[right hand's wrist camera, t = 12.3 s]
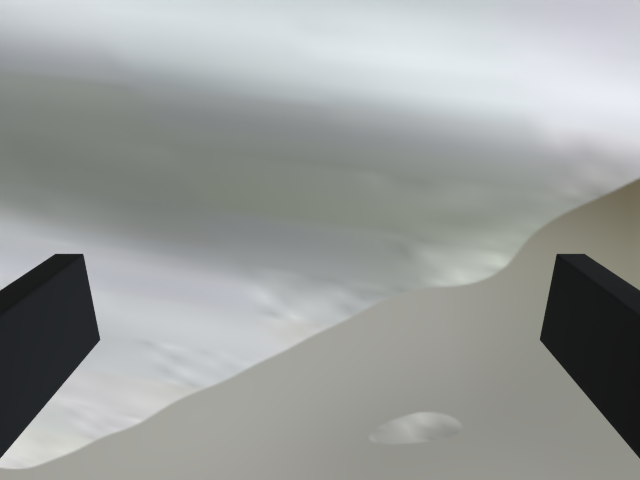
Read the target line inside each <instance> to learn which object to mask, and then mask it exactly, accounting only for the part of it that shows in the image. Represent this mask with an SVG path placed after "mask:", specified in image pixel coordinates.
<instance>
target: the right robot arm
mask: <svg viewBox="0 0 640 480" xmlns="http://www.w3.org/2000/svg"><path fill="white" fill-rule="evenodd" d="M540 340H541V342H542V343H543V344H544V345H545V346H546V348H547V349H548V350H549V351H550V352H551V353H552V355H553V356H554V357H555V358H556V359H557V361H558V362H559V363H560V364H561V365H562V367H563V368H564V369H565V370H566V371H567V373H568V374H569V375H570V376H571V377H572V379H573V380H574V381H575V382H576V383H577V384H578V386H579V387H580V388H581V389H582V390H583V392H584V393H585V394H586V395H587V396H588V398H589V399H590V400H591V401H592V402H593V403H594V405H595V406H596V407H597V408H598V409H599V411H600V412H601V413H602V414H603V415H604V417H605V418H606V419H607V420H608V421H609V422H610V424H611V425H612V426H613V427H614V428H615V430H616V431H617V432H618V433H619V434H620V435H621V437H622V438H623V439H624V440H625V441H626V443H627V444H628V445H629V446H630V447H631V449H632V450H633V451H634V452H635V453H636V455H637V456H638V457H639V458H640V290H638V289H637V288H635V287H634V286H632V285H630V284H629V283H627V282H626V281H624V280H623V279H621V278H620V277H618V276H617V275H615V274H614V273H612V272H611V271H609V270H608V269H606V268H605V267H603V266H602V265H600V264H599V263H597V262H596V261H594V260H593V259H591V258H590V257H588V256H587V255H585V254H557V256H556V261H555V266H554V271H553V276H552V281H551V286H550V291H549V296H548V301H547V306H546V311H545V316H544V321H543V326H542V331H541V336H540ZM99 341H100V336H99V331H98V326H97V321H96V316H95V311H94V306H93V301H92V296H91V291H90V286H89V281H88V276H87V271H86V266H85V261H84V256H83V254H55V255H53V256H52V257H50V258H49V259H47V260H46V261H44V262H43V263H41V264H40V265H38V266H37V267H35V268H34V269H32V270H31V271H29V272H28V273H26V274H25V275H23V276H22V277H20V278H19V279H17V280H16V281H14V282H13V283H11V284H10V285H8V286H6V287H5V288H3V289H2V290H0V458H1V457H2V456H3V455H4V453H5V452H6V451H7V450H8V449H9V447H10V446H11V445H12V444H13V443H14V441H15V440H16V439H17V438H18V437H19V436H20V434H21V433H22V432H23V431H24V430H25V428H26V427H27V426H28V425H29V424H30V422H31V421H32V420H33V419H34V418H35V417H36V415H37V414H38V413H39V412H40V411H41V409H42V408H43V407H44V406H45V405H46V403H47V402H48V401H49V400H50V399H51V398H52V396H53V395H54V394H55V393H56V392H57V390H58V389H59V388H60V387H61V386H62V384H63V383H64V382H65V381H66V380H67V379H68V377H69V376H70V375H71V374H72V373H73V371H74V370H75V369H76V368H77V367H78V365H79V364H80V363H81V362H82V361H83V360H84V358H85V357H86V356H87V355H88V354H89V352H90V351H91V350H92V349H93V348H94V346H95V345H96V344H97V343H98V342H99Z"/></svg>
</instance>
